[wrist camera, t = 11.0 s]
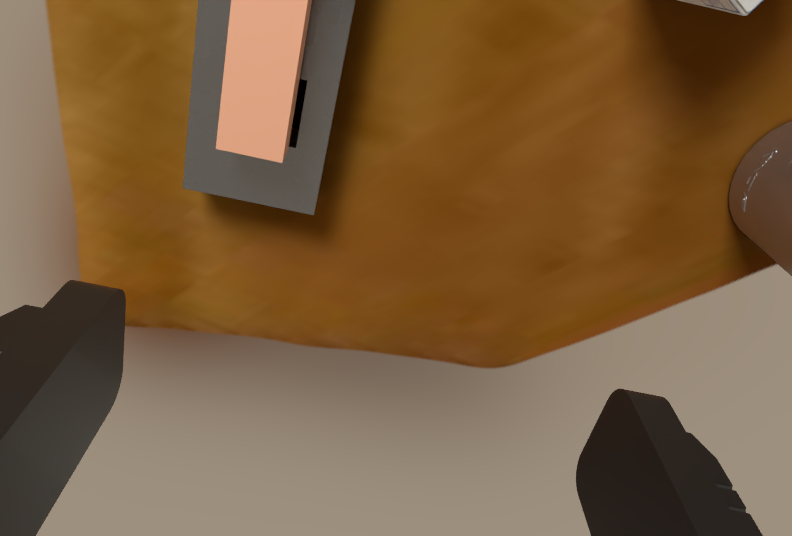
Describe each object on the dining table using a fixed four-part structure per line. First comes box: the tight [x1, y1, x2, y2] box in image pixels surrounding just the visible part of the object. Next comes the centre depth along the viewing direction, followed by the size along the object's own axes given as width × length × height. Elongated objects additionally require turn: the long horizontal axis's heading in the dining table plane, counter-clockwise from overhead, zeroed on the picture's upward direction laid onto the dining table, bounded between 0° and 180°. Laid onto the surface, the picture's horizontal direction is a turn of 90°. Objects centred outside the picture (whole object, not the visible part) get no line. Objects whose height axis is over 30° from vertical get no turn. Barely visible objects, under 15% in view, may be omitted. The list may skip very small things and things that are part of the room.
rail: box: [183, 0, 356, 215], centre depth 36 cm, size 8×22×4 cm, turn 167°
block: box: [216, 0, 312, 163], centre depth 34 cm, size 4×14×6 cm, turn 167°
